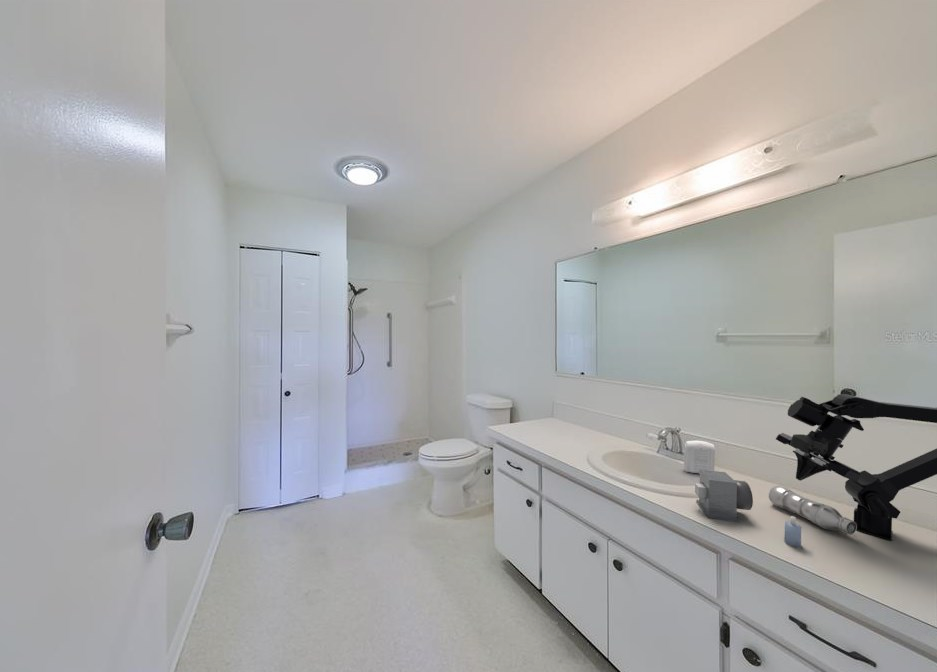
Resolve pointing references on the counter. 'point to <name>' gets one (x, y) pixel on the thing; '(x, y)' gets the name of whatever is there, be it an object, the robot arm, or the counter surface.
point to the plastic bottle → (811, 510)
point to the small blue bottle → (792, 533)
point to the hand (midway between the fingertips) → (798, 479)
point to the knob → (742, 494)
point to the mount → (719, 496)
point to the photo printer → (698, 456)
